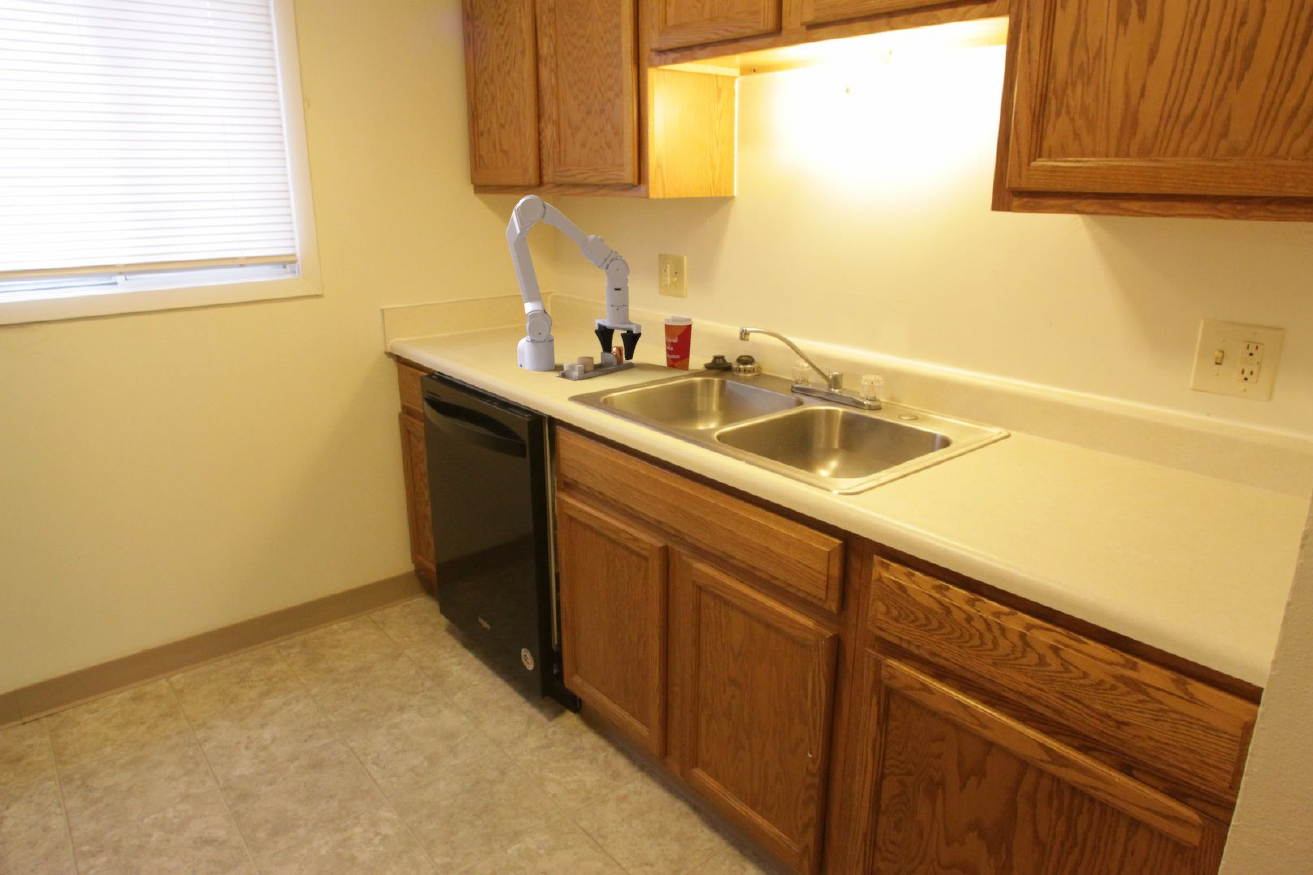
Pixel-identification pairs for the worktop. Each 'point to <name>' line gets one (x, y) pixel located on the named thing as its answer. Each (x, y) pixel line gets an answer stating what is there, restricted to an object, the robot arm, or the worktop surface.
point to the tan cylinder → (586, 363)
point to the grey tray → (577, 372)
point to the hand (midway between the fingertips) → (618, 357)
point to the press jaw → (613, 358)
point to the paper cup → (678, 341)
